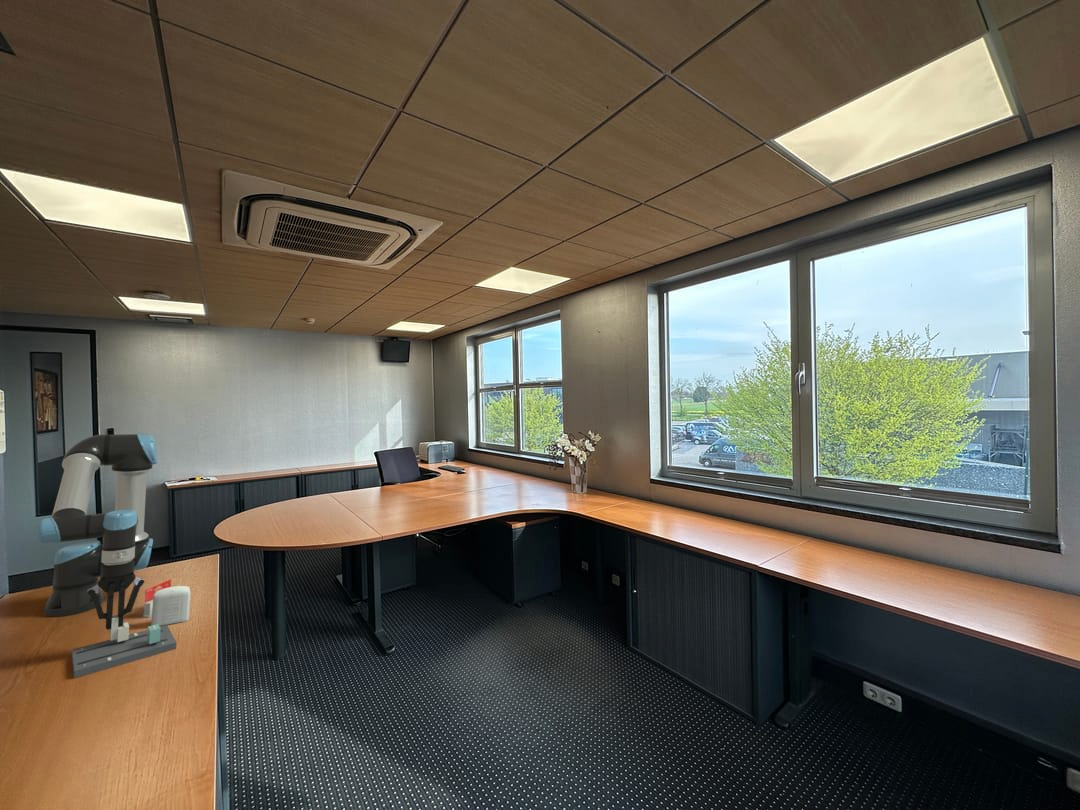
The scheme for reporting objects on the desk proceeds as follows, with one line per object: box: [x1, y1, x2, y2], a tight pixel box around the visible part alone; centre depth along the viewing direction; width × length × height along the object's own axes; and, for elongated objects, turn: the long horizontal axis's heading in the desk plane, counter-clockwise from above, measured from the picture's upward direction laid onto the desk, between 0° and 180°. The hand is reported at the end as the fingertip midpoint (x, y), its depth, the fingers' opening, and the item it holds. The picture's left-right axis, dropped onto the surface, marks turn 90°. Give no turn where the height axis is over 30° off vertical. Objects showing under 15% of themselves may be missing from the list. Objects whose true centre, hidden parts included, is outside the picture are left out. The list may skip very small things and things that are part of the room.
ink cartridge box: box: [142, 578, 172, 619], centre depth 163 cm, size 2×11×10 cm, turn 179°
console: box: [71, 624, 177, 679], centre depth 135 cm, size 16×22×2 cm
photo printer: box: [150, 585, 192, 627], centre depth 154 cm, size 10×4×12 cm, turn 123°
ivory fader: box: [117, 621, 130, 642], centre depth 137 cm, size 4×2×5 cm, turn 49°
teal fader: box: [147, 624, 161, 644], centre depth 137 cm, size 4×2×5 cm, turn 49°
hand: (113, 638), depth 136 cm, fingers closed
